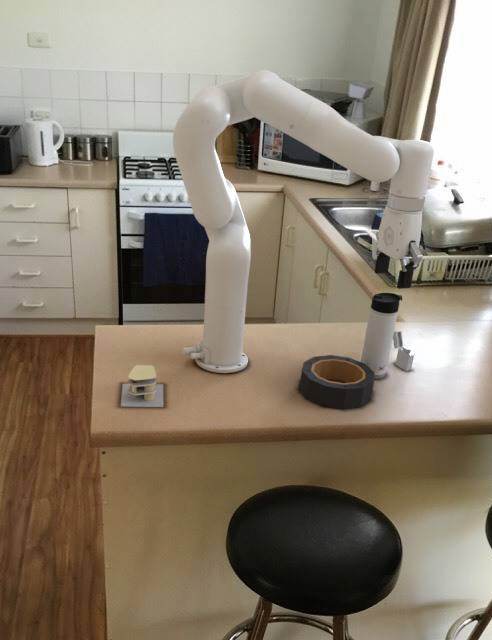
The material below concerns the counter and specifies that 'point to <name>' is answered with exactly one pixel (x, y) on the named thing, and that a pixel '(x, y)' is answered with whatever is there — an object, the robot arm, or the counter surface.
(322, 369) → the tape roll
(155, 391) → the stacked layers on plate
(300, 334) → the counter surface
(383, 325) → the travel mug
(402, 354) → the lighter
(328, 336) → the counter surface
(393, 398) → the counter surface
